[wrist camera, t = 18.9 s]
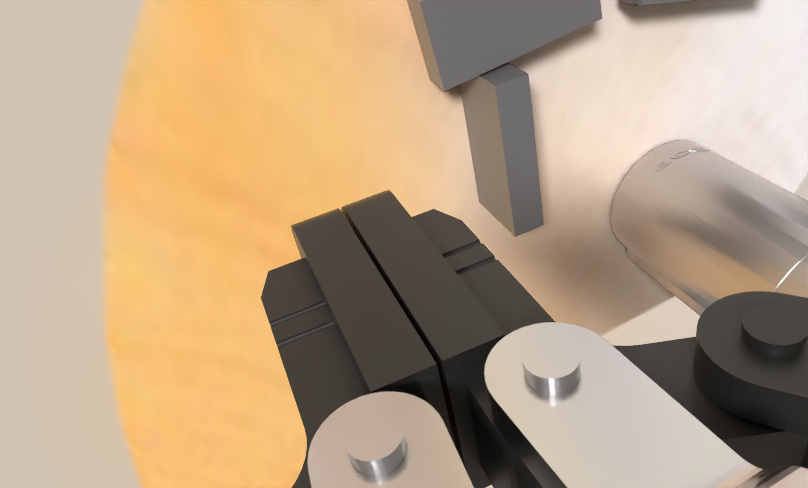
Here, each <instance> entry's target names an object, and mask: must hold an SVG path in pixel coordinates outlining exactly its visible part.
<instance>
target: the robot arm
mask: <svg viewBox="0 0 808 488" xmlns="http://www.w3.org/2000/svg"><path fill="white" fill-rule="evenodd" d="M341 210H342V212H341ZM341 210H340V209H335V210H333V211H330V212H327V213H324V214H322V215H319V216H316V217H313V218H311V219H308V220H305V221H303V222H300V223H297V224H294V225H292V226H291V228H292V232H293V235H294V238H295V241H296V244H297V247H298V250H299V252H300V255H301V258H302V259H300V260H297V261H295V262H292V263H289V264H287V265H284V266H281V267H279V268H276V269H273V270H271V271H268V275H267V278H266V282H265V285H264V289H263V292H262V296H261V299H262V302H263V305H264V308H265V311H266V314H267V317H268V320H269V323H270V325H271V329H272V332H273V335H274V338H275V341H276V344H277V346H278V350H279V353H280V356H281V359H282V362H283V365H284V368H285V371H286V374H287V377H288V380H289V383H290V386H291V389H292V392H293V395H294V398H295V401H296V404H297V407H298V410H299V413H300V416H301V419H302V422H303V425H304V427H305V432H306V436H307V451H306V458H305V461H304V464H303V467H302V470H301V472H300V474H299V476H298V478H297V480H296V482H295V484H294V485H293V487H292V488H485V487H487V486H489V485H491V484H492V486H493V487H494V488H808V201H807V200H805V199H803V198H801V197H799V196H797V195H796V194H794V193H792V192H790V191H788V190H786V189H784V188H782V187H780V186H778V185H776V184H774V183H772V182H771V181H769V180H767V179H765V178H763V177H761V176H759V175H757V174H755V173H753V172H751V171H749V170H747V169H746V168H744V167H742V166H740V165H738V164H736V163H734V162H732V161H730V160H728V159H726V158H724V157H723V156H721V155H719V154H717V153H715V152H713V151H711V150H709V149H707V148H705V147H703V146H701V145H699V144H698V143H696V142H692V141H688V140H675V141H672V142H668V143H665V144H663V145H661V146H658V147H656V148H654V149H653V150H651V151H650V152H649V153H647V154H646V155H644V156H643V157H642V158H641V159H640V160H639V161H638V162H637V163H636V164H635V165H634V166H633V167H632V168H631V169H630V170H629V172H628V173H627V174H626V176H625V177H624V179H623V180H622V182H621V184H620V186H619V187H618V189H617V192H616V194H615V197H614V200H613V204H612V209H611V225H612V229H613V233H614V234H615V236H616V237H617V239H618V240H619V241H620V242H621V243H622V244H624V245H625V246H626V248H627V257H628V258H629V259H631V260H632V261H633V262H634V263H636V264H637V265H638V266H639V267H640V268H642V269H643V270H644V271H645V272H647V273H648V274H649V275H650V276H652V277H653V278H654V279H655V280H657V281H658V282H659V283H660V284H662V285H663V286H664V287H665V288H666V289H668V290H669V291H670V292H671V293H673V294H674V295H675V296H676V297H678V298H679V299H680V300H681V301H683V302H684V303H685V304H686V305H688V306H689V307H690V308H691V309H692V310H694V311H695V312H696V313H697V314H699V315H700V318H699V321H698V325H697V333H696V337H692V338H684V339H677V340H671V341H664V342H657V343H650V344H643V345H634V346H613V345H611V344H610V343H609V342H608V341H606V340H605V339H604V338H602V337H601V336H600V335H598V334H597V333H595V332H593V331H591V330H589V329H586V328H583V327H581V326H578V325H573V324H569V323H560V322H555V321H554V320H553V319H552V318H551V317H550V316H549V315H548V313H547V312H546V311H545V310H544V309H543V308H542V307H541V306H540V305H539V304H538V303H537V302H536V300H535V299H534V298H533V297H532V296H531V295H530V294H529V293H528V292H527V291H526V290H525V289H524V287H523V286H522V285H521V284H520V283H519V282H518V281H517V280H516V279H515V278H514V277H513V276H512V274H511V273H510V272H509V271H508V270H507V269H506V268H505V267H504V266H503V265H502V264H501V263H500V262H499V260H495V257H494V255H493V254H492V253H491V252H490V251H489V250H488V249H487V247H486V246H485V245H484V244H481V243H480V241H479V239H478V238H477V237H476V236H475V234H474V233H473V232H472V231H471V230H470V229H469V228H468V227H467V226H466V225H465V224H464V223H463V221H462V220H459V219H457V218H454V217H452V216H449V215H447V214H445V213H442V212H440V211H437V210H435V209H432V210H430V211H427V212H424V213H422V214H419V215H416V216H414V217H411V216H410V215H409V214H408V212H407V211H406V210H405V209H404V207H403V206H402V205H401V204H400V202H399V201H398V200H397V199H396V197H395V196H394V195H393V194H392V192H390V191H389V190H387V191H384V192H381V193H379V194H376V195H373V196H371V197H368V198H365V199H362V200H360V201H357V202H354V203H351V204H349V205H346V206H343V207H342V209H341Z"/></svg>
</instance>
